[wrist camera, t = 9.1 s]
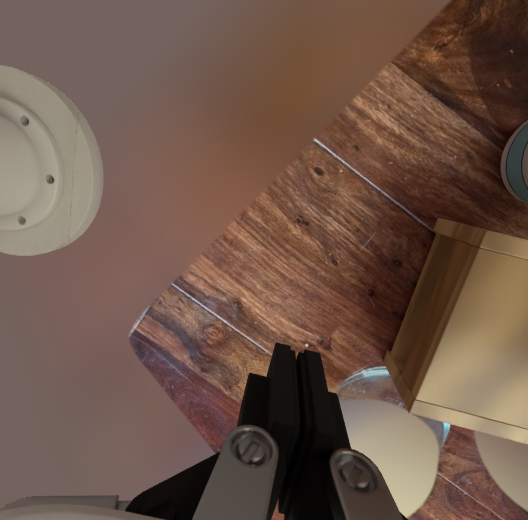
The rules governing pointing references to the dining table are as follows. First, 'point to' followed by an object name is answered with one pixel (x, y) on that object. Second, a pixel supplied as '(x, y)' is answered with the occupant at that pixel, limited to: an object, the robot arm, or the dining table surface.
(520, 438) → the gold flanged block
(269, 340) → the dining table surface
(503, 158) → the beverage can
